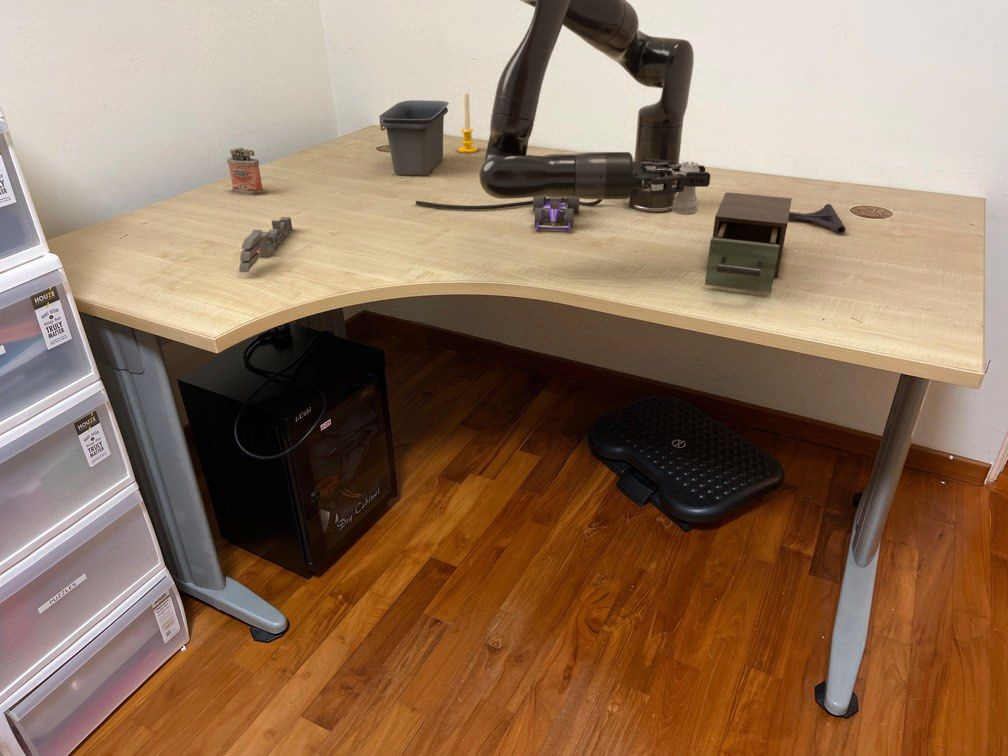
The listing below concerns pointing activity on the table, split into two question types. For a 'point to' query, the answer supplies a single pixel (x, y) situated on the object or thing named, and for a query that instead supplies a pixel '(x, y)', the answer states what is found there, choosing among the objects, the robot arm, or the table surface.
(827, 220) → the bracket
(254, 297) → the table surface
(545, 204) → the toy race car
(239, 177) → the lighter
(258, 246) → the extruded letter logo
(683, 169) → the rook chess piece
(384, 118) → the storage bin
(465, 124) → the candle
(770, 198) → the cabinet
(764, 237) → the drawer
